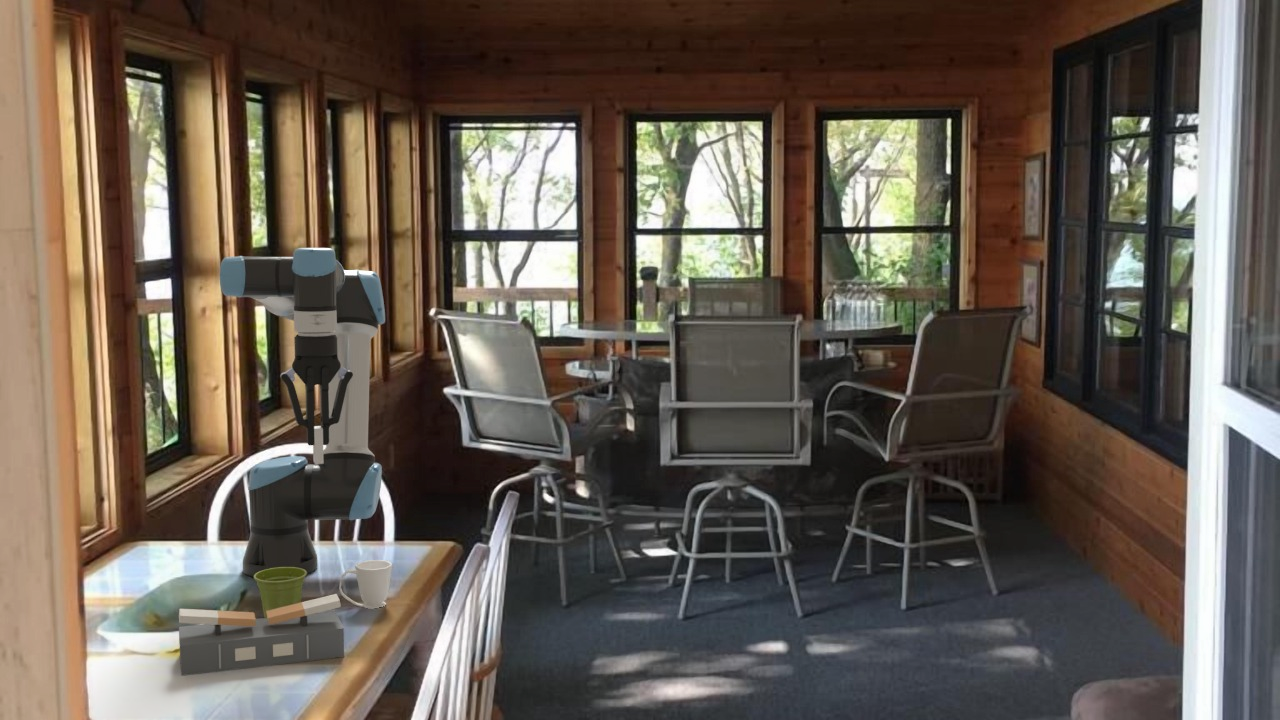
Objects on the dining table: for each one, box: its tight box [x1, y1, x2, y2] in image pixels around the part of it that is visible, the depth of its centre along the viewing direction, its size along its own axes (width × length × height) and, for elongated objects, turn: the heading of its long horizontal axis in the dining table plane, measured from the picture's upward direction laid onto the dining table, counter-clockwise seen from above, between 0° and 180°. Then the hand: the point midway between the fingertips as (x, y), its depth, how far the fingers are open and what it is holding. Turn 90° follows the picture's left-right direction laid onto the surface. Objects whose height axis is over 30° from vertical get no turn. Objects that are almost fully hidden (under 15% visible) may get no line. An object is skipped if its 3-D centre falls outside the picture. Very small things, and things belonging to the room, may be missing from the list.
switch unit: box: [178, 610, 345, 676], centre depth 217 cm, size 10×26×7 cm, turn 111°
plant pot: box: [253, 567, 308, 618], centre depth 236 cm, size 9×9×9 cm
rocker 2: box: [266, 593, 342, 625], centre depth 219 cm, size 4×12×1 cm, turn 111°
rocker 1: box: [178, 608, 257, 626], centre depth 214 cm, size 4×12×1 cm, turn 111°
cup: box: [338, 559, 393, 610], centre depth 245 cm, size 7×10×8 cm
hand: (318, 462), depth 234 cm, fingers closed
